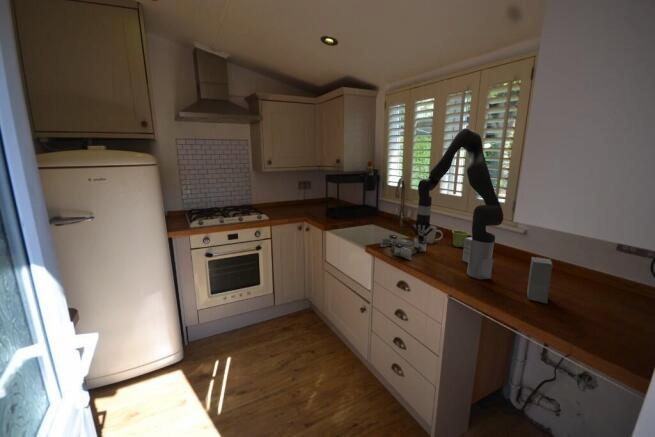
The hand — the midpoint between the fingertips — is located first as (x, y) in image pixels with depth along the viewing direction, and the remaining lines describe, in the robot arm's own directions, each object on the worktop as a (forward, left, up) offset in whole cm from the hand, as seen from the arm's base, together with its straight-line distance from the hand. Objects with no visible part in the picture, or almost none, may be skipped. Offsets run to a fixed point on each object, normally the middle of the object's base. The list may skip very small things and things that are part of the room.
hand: (420, 241), depth 175 cm
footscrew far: (+5, +18, -4) cm, 19 cm away
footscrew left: (-13, +18, -3) cm, 23 cm away
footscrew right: (-3, +3, -3) cm, 5 cm away
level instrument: (-3, +12, -4) cm, 13 cm away
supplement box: (-25, -16, -4) cm, 30 cm away
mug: (+10, -14, -4) cm, 17 cm away
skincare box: (-64, -14, -4) cm, 66 cm away
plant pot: (+1, -27, -4) cm, 27 cm away
